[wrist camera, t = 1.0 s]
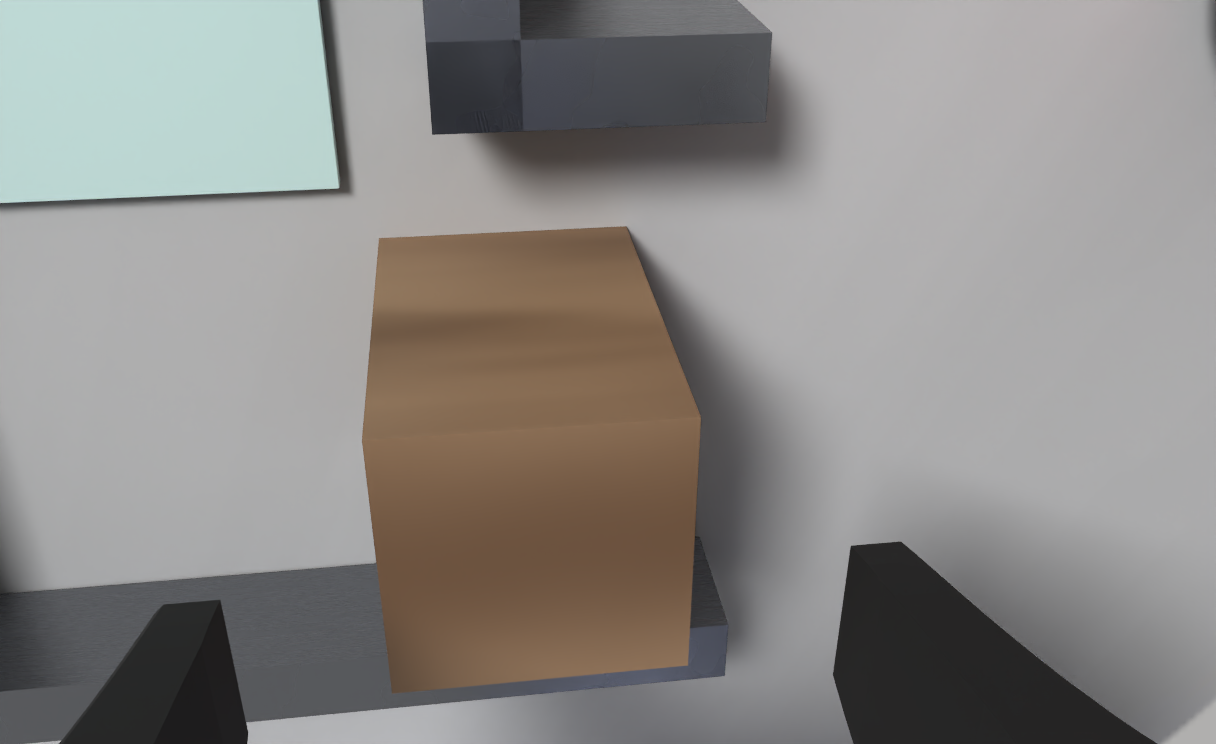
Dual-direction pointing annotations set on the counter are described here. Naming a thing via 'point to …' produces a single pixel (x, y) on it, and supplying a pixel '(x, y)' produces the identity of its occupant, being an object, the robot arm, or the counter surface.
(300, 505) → the counter surface
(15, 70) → the pad
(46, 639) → the grey flat frame
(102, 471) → the counter surface
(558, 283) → the walnut block
